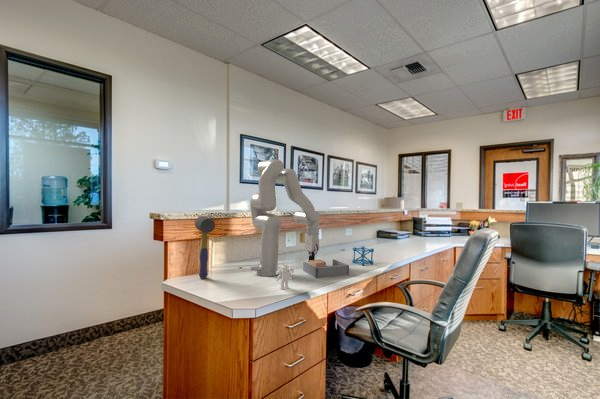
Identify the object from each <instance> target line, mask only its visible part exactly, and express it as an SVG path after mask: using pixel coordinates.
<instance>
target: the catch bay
mask: <svg viewBox="0 0 600 399" xmlns="http://www.w3.org/2000/svg"><path fill="white" fill-rule="evenodd" d="M302 265H303V266H302V271H303V272H305V273H307V274H308V275H311V276H312V277H313V278H316V279H321V278H329V277H338V276H340V277H341V276H347V275H350V273H349V272H350V265H349V264H347V263H344V262H341V261H339V260H337V259H334V258H332V266H331V265H330V266H326V267H319V268H317V267H315V266H313V265H311V264H309V262H306V261H303V264H302Z"/></svg>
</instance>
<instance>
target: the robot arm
mask: <svg viewBox="0 0 600 399" xmlns="http://www.w3.org/2000/svg"><path fill="white" fill-rule="evenodd" d="M257 172H258V173H259V175H260V176H259V179H258V192H256V193H254V194H253V195H252V196H251V199H250V202H249V203H250V215H251V221H252V225H253V227H254V228H255V229H257V230H260V231H262V233H261V237H260V244H259V249H260V250H259V251H260V252H259V263H258V264H257V265H256V266H250V271H254V272H256V274H257V275H259V276H264V277H275V276H279V273H278V274H276V272H277V270H278V269H279V268H278V267H279V266H278V265H279V243H280V242H279V240H280V238H279V237H280V230H281V227H282V220H281V219H280V218H281V217H279V215H277V214H274V213H269V212H272V211H274V210H276V208H277V196H276V184H280V185H281V184H282V185H283V186H284V190H285V192H286V194H287V197H288V199H289V200H291V201H292V202H293V203H295V204H296V205H298V206H299V207H300V208H301V209H302V210H298V211H295V212H294V214H293V219H294V221H295V222H296V223H298V224H301V225H305V226H306V230H305V231H306V232H305V237H304V249H305V251H306V252H307V253H308V261H309V260H316V255H318V252H319V250H320V236H319V235H320V212H319V211H318V210H315V206H314V205H313V202H312V201H311V200H310V199H309V198H308V196H307V195H306V194H304V192H303V190H302V187H301V184H300V181H299V177H298V175H297V173H296V170H294V169H293V168H284V163H283V161H282V160H280V159H266V160H262V161H260V162H259V163H258V164H257Z"/></svg>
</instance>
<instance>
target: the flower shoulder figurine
mask: <svg viewBox="0 0 600 399" xmlns="http://www.w3.org/2000/svg"><path fill="white" fill-rule="evenodd" d="M294 270H295V269H294V267H292V266H289V265H288V263H282V262H281V266H280V268H278V270H277V272H276V274H278V273H279V275H277V277H276V280H275V281H276V283H278V281H281V282H280V287H279V290H281V291H283V290H285V289H286V290H287V289H289V284H288V282H289V280H290V281H291V280H292V279H293V277H292V276H293V275H292V274H293V273H294ZM280 278H281V280H280Z"/></svg>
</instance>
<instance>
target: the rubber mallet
mask: <svg viewBox="0 0 600 399" xmlns="http://www.w3.org/2000/svg"><path fill="white" fill-rule="evenodd" d="M194 226H195V228H196V229H197V230H198V231H200V232H201V246H200V251H199V272H198V276H199V278H200V279H206V278H207V277H208V275H209V274H208V260H209V252H208V234H209V233H211V232H213V231H214V230H215V227H216V223H215V221H214V220H213V219H212V218H210V217H208V216H199V217H196V219H195V220H194Z"/></svg>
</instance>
